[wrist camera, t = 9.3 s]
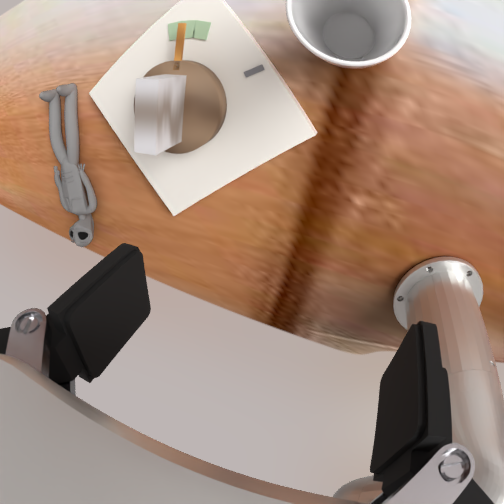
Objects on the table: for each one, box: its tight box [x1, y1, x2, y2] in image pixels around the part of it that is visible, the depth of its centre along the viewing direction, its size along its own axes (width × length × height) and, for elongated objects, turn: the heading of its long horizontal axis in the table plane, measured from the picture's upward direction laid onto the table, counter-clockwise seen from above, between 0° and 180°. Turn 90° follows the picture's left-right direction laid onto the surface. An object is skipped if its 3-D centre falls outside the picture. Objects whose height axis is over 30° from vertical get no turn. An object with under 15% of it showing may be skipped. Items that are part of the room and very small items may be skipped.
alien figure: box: [39, 83, 97, 247], centre depth 40 cm, size 8×5×25 cm
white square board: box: [89, 0, 317, 216], centre depth 31 cm, size 20×20×2 cm
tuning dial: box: [134, 23, 227, 156], centre depth 27 cm, size 14×10×7 cm
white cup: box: [286, 0, 411, 69], centre depth 18 cm, size 7×7×15 cm
